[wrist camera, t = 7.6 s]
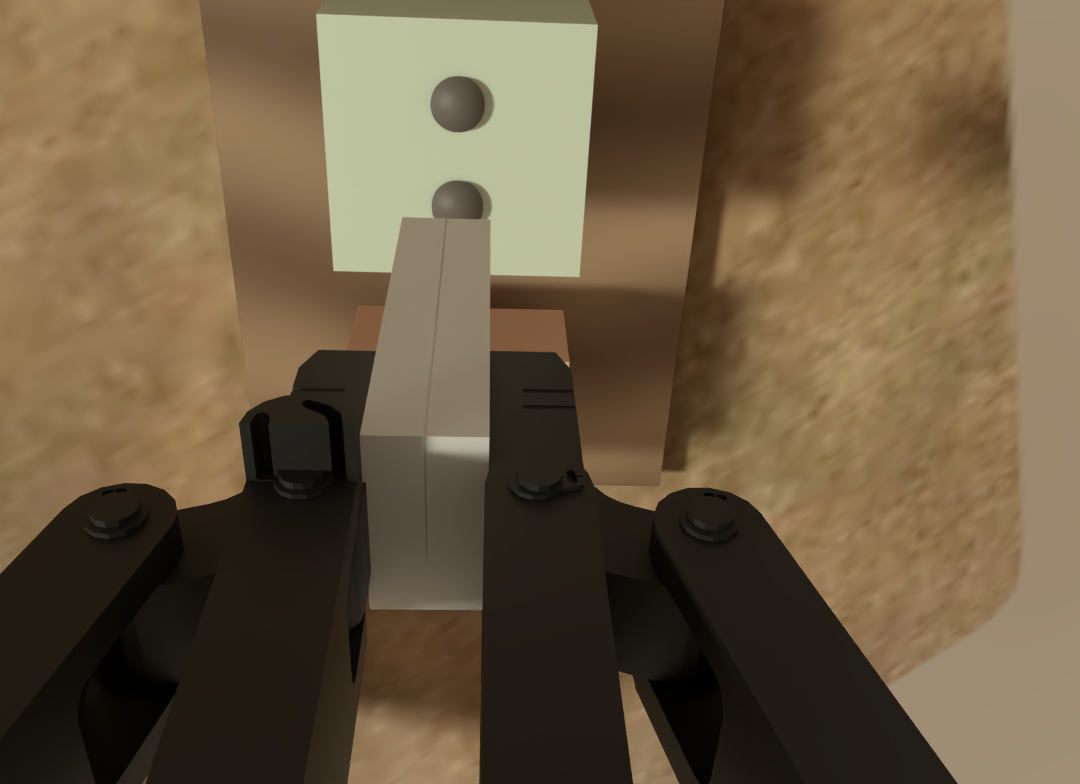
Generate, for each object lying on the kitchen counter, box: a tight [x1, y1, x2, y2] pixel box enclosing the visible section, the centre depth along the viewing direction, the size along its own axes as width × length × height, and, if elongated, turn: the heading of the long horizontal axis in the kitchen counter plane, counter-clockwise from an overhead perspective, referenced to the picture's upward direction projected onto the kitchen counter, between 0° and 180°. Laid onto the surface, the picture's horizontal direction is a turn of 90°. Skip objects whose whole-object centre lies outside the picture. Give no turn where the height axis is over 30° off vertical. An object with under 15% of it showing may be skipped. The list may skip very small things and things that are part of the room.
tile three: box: [347, 306, 570, 367], centre depth 30 cm, size 6×6×3 cm
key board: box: [199, 0, 725, 486], centre depth 29 cm, size 28×14×2 cm, turn 177°
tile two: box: [316, 0, 598, 277], centre depth 25 cm, size 6×6×3 cm
